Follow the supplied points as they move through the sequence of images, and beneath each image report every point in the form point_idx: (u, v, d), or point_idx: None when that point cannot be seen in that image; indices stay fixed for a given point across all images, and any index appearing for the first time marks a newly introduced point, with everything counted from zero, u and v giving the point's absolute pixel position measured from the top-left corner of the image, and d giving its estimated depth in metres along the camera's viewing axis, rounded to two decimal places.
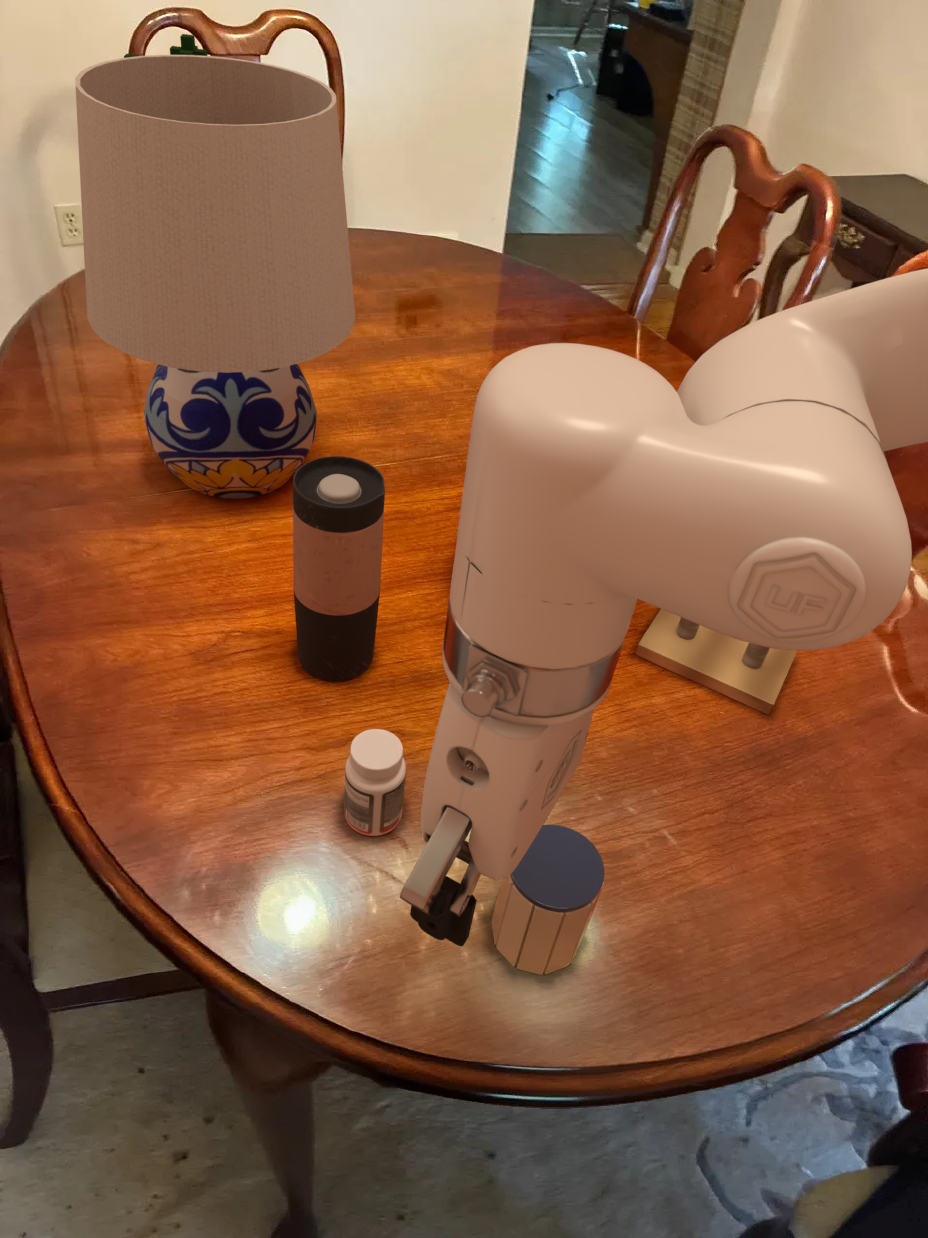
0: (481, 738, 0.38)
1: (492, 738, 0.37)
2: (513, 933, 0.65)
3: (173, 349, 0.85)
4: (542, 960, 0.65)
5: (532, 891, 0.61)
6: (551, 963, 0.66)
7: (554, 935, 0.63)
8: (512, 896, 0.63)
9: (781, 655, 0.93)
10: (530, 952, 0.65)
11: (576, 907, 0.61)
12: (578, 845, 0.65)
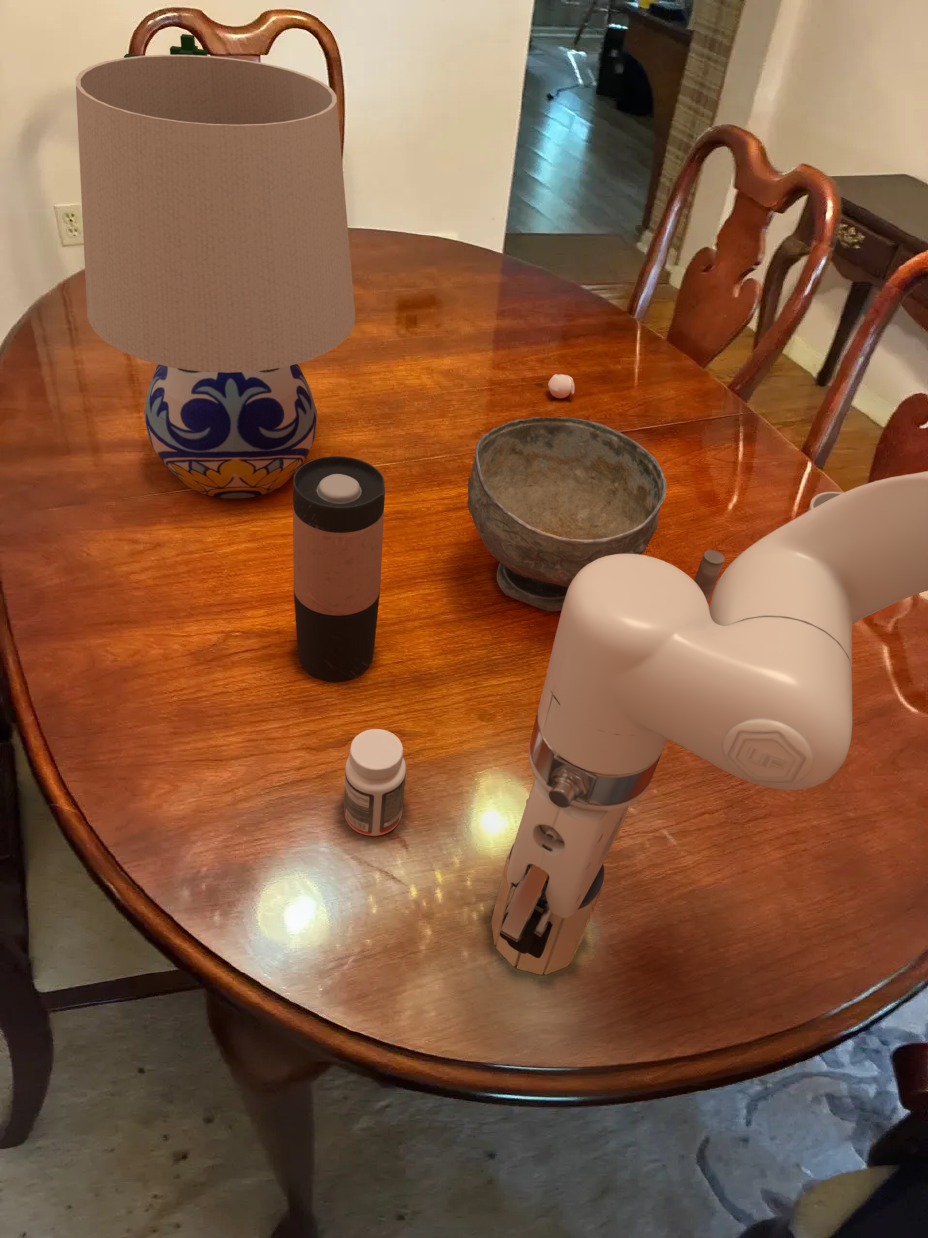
0: (559, 820, 0.53)
1: (568, 820, 0.52)
2: None
3: (173, 349, 0.85)
4: (542, 960, 0.65)
5: None
6: (551, 963, 0.66)
7: (554, 935, 0.63)
8: None
9: None
10: None
11: None
12: None
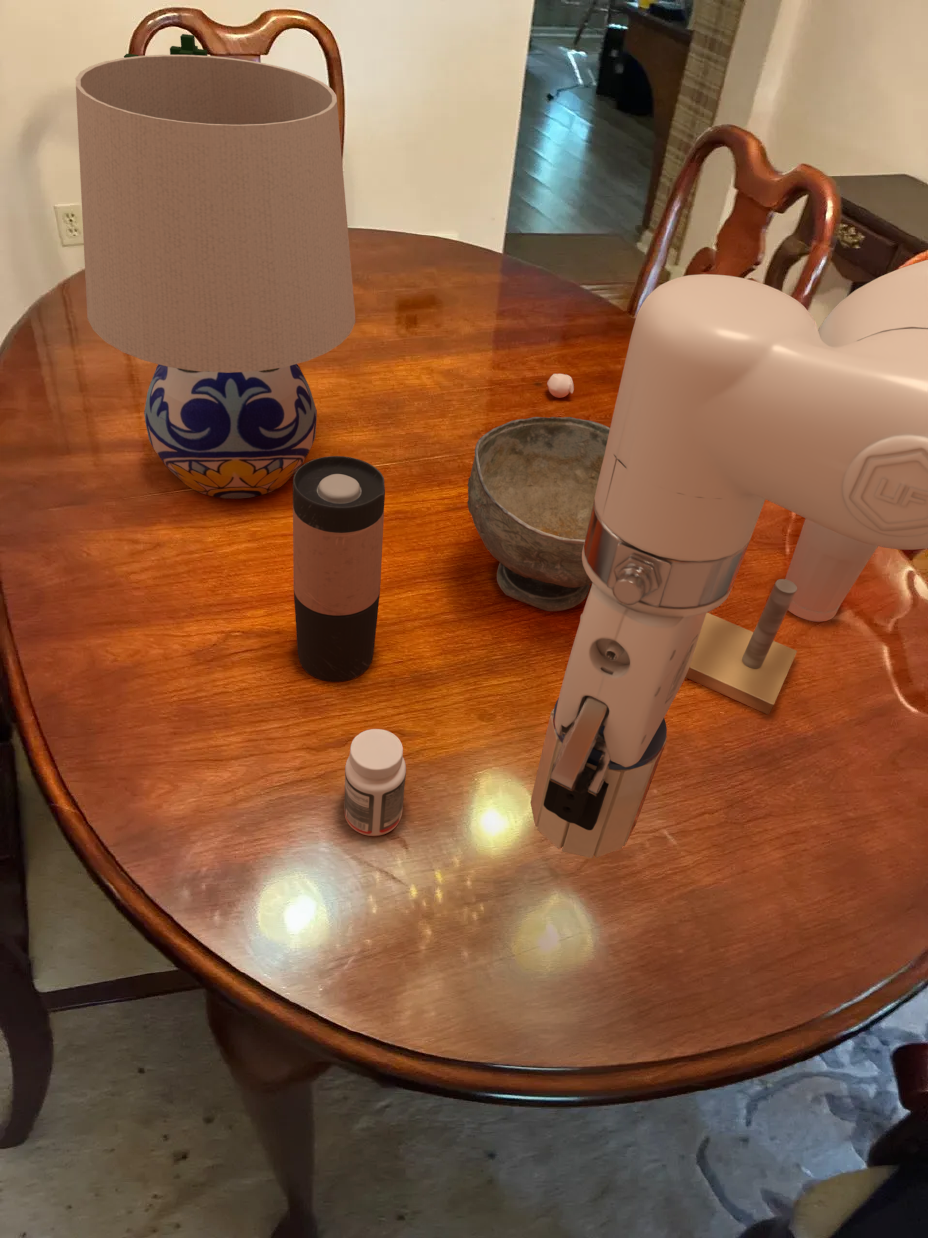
0: (624, 628, 0.43)
1: (635, 627, 0.43)
2: None
3: (173, 349, 0.85)
4: (593, 838, 0.56)
5: None
6: (603, 842, 0.56)
7: (608, 802, 0.53)
8: None
9: (781, 655, 0.93)
10: (579, 827, 0.55)
11: (636, 763, 0.51)
12: None
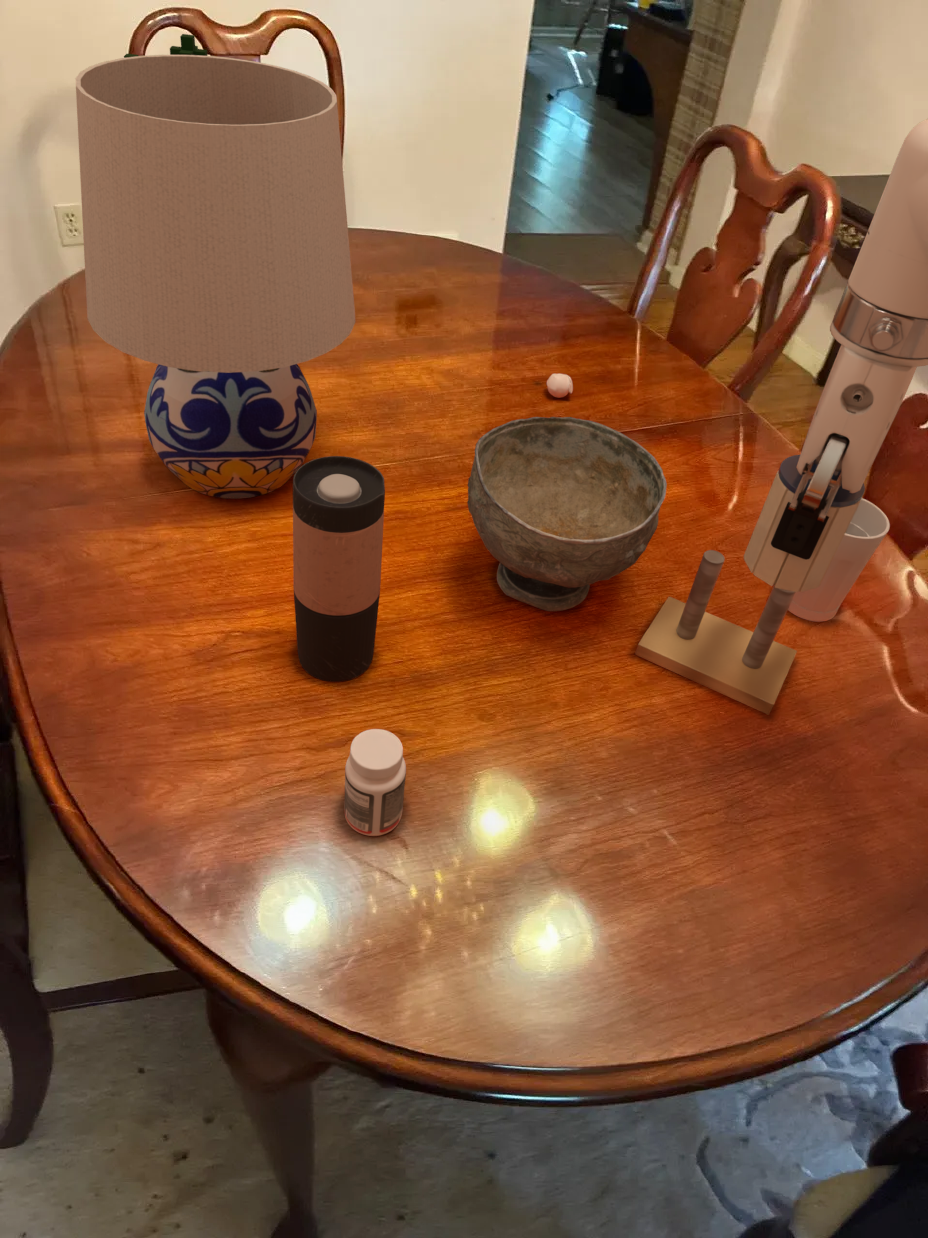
0: (872, 374, 0.62)
1: (881, 371, 0.61)
2: None
3: (173, 349, 0.85)
4: (802, 572, 0.74)
5: None
6: (809, 576, 0.75)
7: (821, 537, 0.72)
8: (785, 502, 0.72)
9: (781, 655, 0.93)
10: (793, 562, 0.74)
11: (848, 502, 0.70)
12: None
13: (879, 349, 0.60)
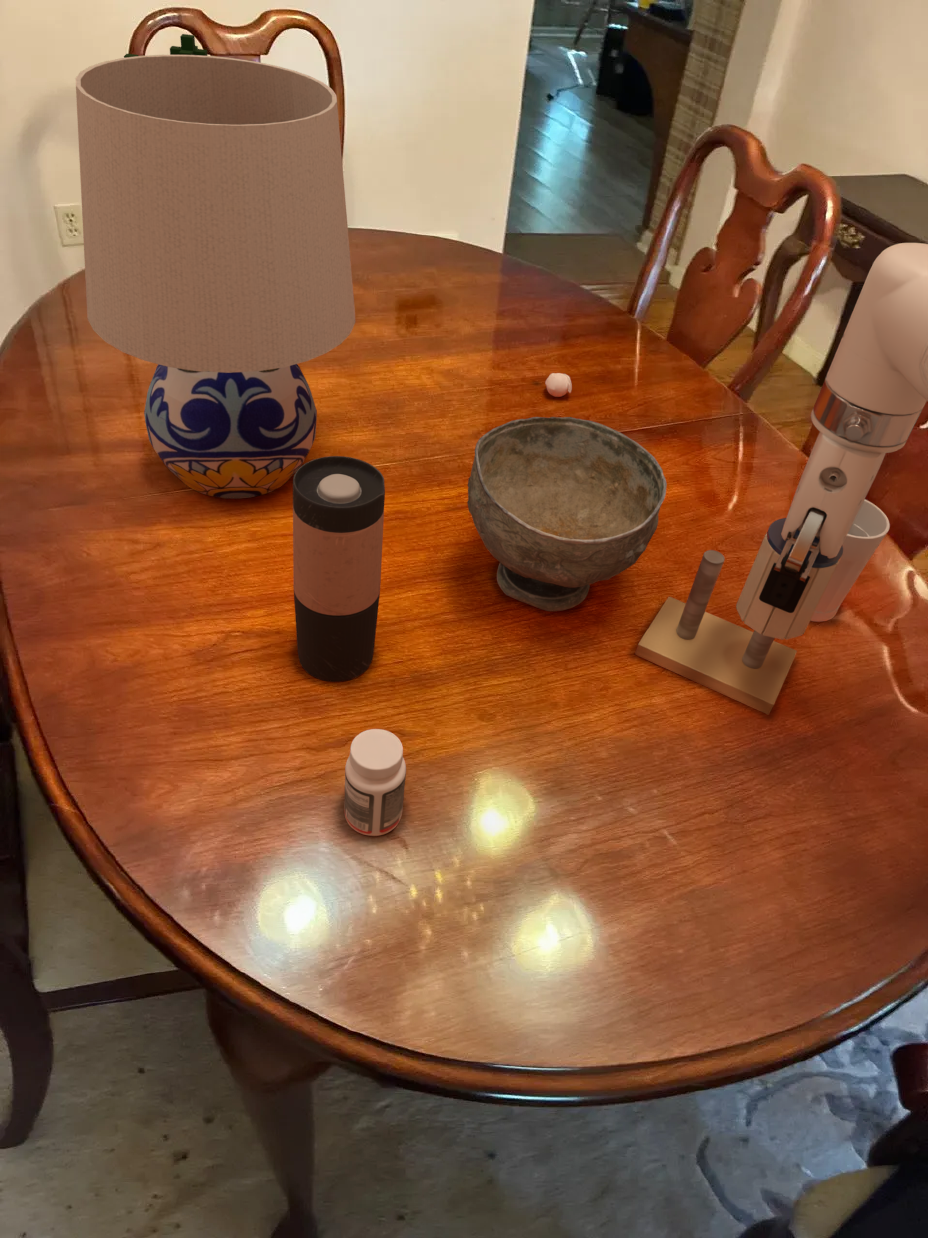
0: (845, 459, 0.71)
1: (853, 457, 0.71)
2: None
3: (173, 349, 0.85)
4: (787, 622, 0.84)
5: None
6: (793, 626, 0.84)
7: (804, 593, 0.81)
8: (772, 562, 0.81)
9: (781, 655, 0.93)
10: (779, 614, 0.83)
11: (827, 563, 0.79)
12: None
13: (851, 439, 0.69)
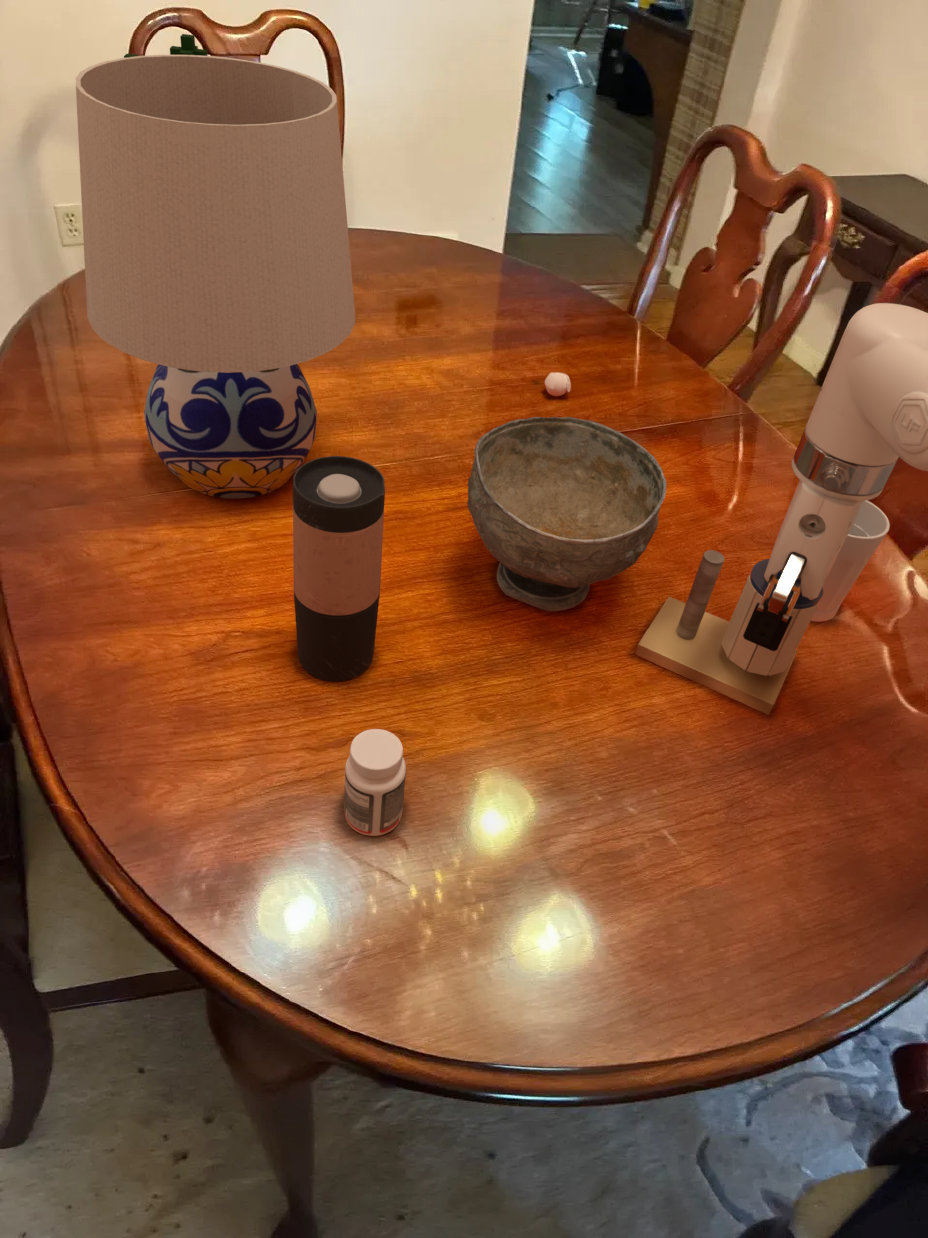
0: (824, 507, 0.74)
1: (831, 506, 0.74)
2: None
3: (173, 349, 0.85)
4: (770, 660, 0.87)
5: None
6: (776, 663, 0.87)
7: (786, 632, 0.84)
8: (755, 603, 0.84)
9: None
10: (762, 652, 0.86)
11: (807, 605, 0.82)
12: None
13: (829, 489, 0.72)
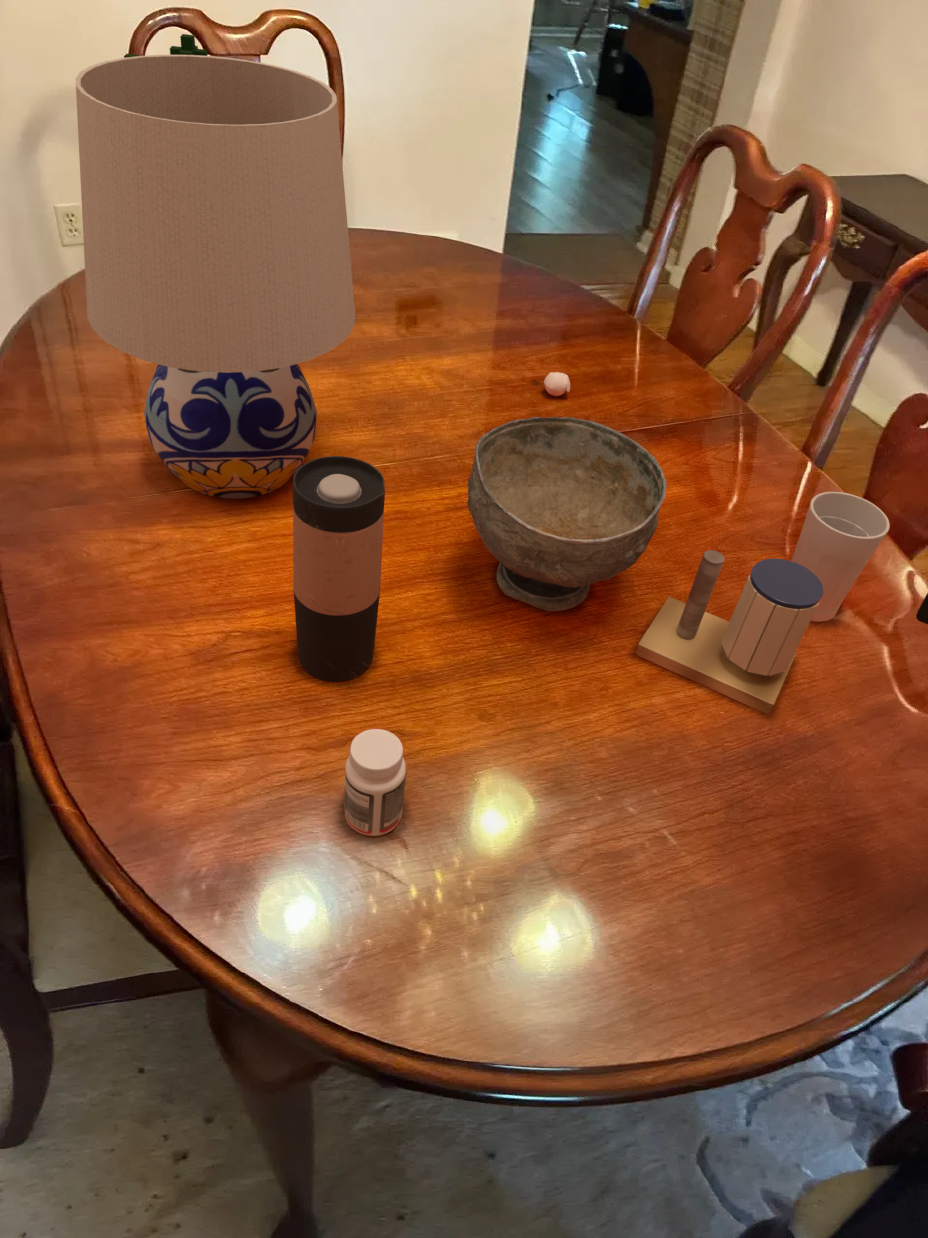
0: None
1: None
2: (750, 637, 0.86)
3: (173, 349, 0.85)
4: (770, 660, 0.87)
5: (774, 594, 0.83)
6: (776, 663, 0.87)
7: (786, 632, 0.84)
8: (755, 603, 0.84)
9: None
10: (762, 652, 0.86)
11: (807, 605, 0.82)
12: (800, 570, 0.86)
13: None
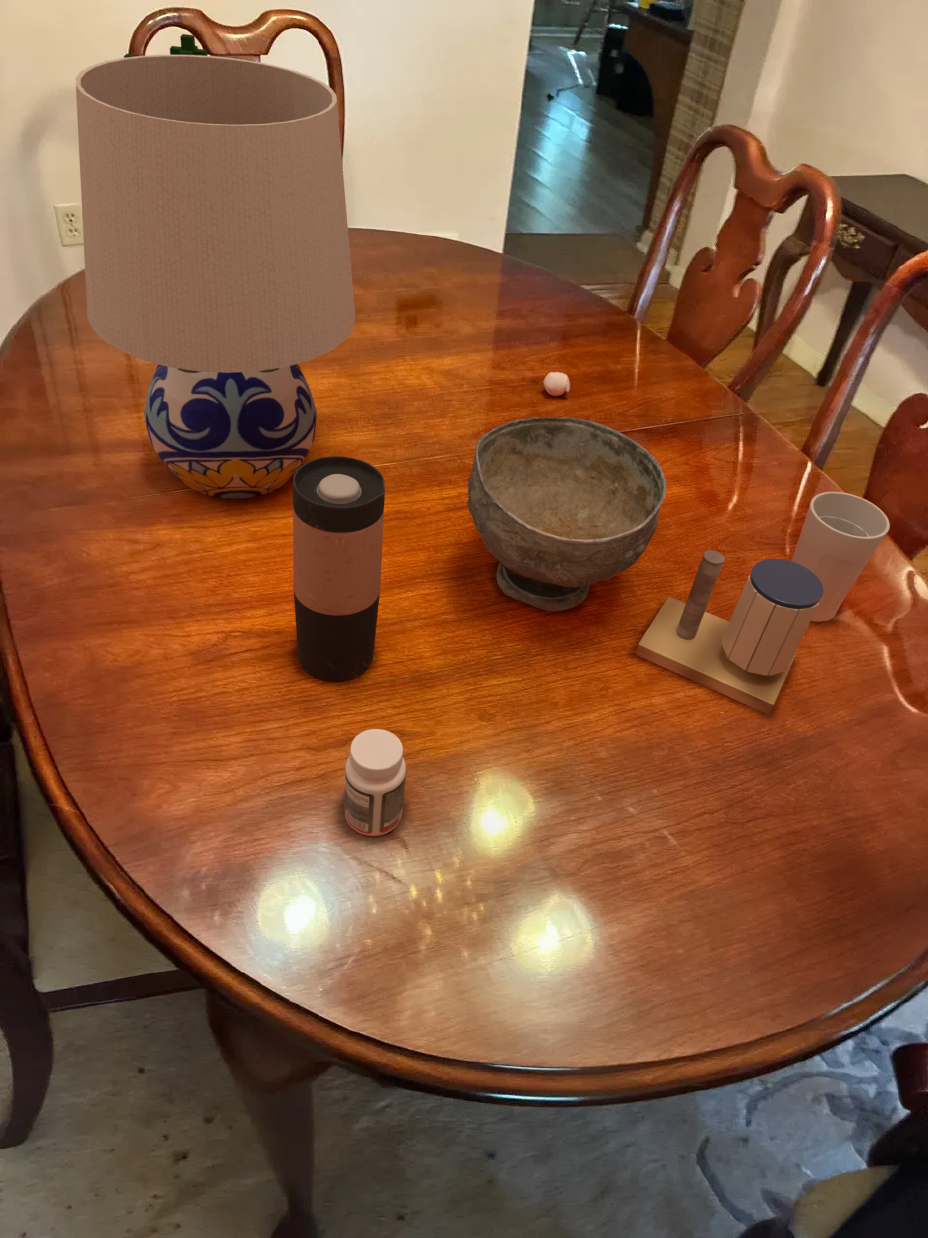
0: None
1: None
2: (750, 637, 0.86)
3: (173, 349, 0.85)
4: (770, 660, 0.87)
5: (774, 594, 0.83)
6: (776, 663, 0.87)
7: (786, 632, 0.84)
8: (755, 603, 0.84)
9: None
10: (762, 652, 0.86)
11: (807, 605, 0.82)
12: (800, 570, 0.86)
13: None
